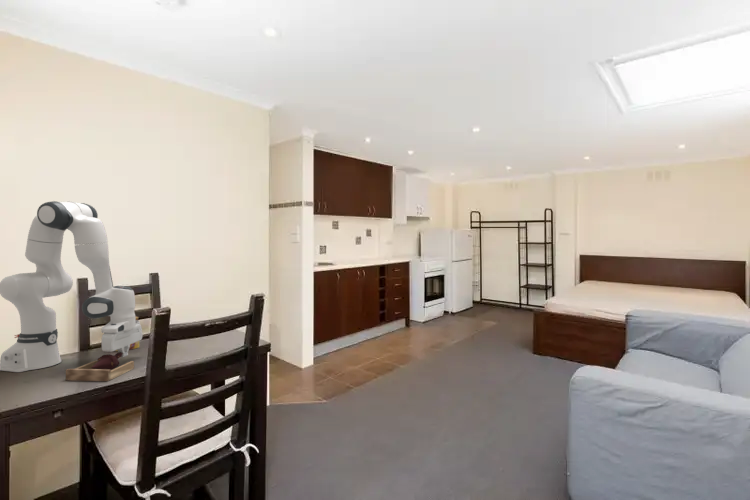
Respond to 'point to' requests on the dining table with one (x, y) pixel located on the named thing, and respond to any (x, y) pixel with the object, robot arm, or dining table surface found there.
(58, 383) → the dining table surface
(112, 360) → the maroon pointed bulb
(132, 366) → the wooden u-shaped frame
